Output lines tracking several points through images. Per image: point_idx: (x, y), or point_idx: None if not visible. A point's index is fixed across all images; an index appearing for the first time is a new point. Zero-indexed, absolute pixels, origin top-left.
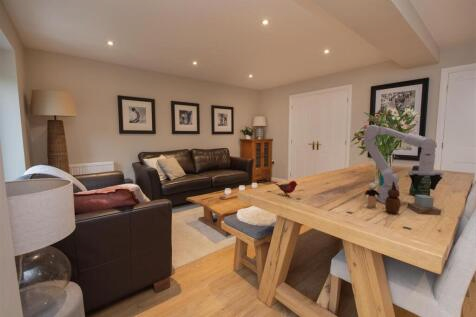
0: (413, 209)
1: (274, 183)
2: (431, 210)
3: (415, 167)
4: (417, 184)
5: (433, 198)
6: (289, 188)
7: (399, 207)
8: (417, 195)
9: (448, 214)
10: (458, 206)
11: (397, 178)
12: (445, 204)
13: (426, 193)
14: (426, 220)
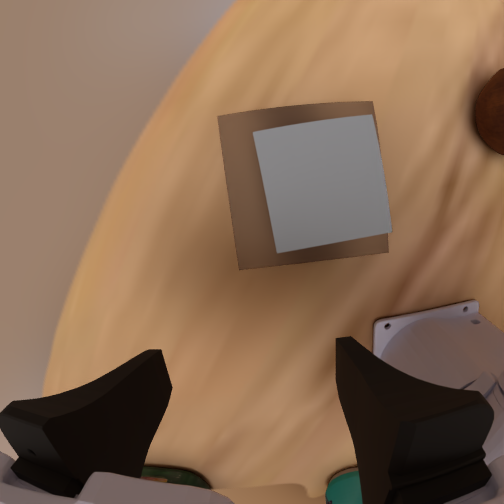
0: None
1: None
2: (286, 108)
3: None
4: (367, 360)
5: (256, 132)
6: None
7: (495, 78)
8: (383, 200)
9: (163, 156)
10: (56, 343)
11: (497, 453)
12: (98, 369)
13: (145, 478)
14: (364, 9)
